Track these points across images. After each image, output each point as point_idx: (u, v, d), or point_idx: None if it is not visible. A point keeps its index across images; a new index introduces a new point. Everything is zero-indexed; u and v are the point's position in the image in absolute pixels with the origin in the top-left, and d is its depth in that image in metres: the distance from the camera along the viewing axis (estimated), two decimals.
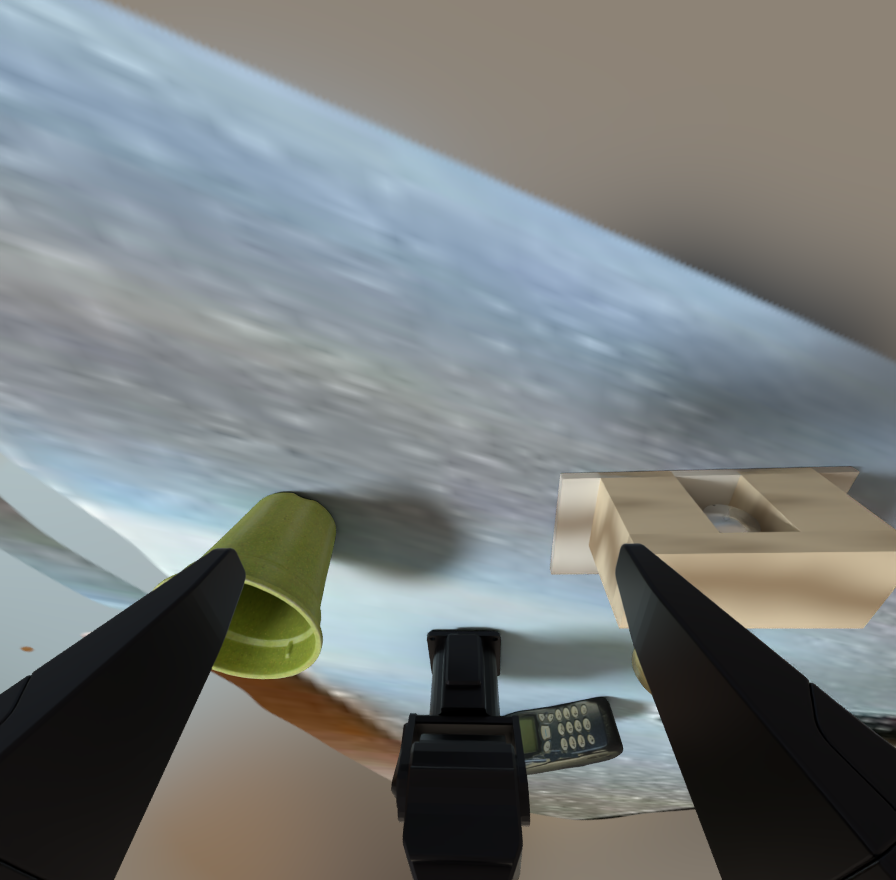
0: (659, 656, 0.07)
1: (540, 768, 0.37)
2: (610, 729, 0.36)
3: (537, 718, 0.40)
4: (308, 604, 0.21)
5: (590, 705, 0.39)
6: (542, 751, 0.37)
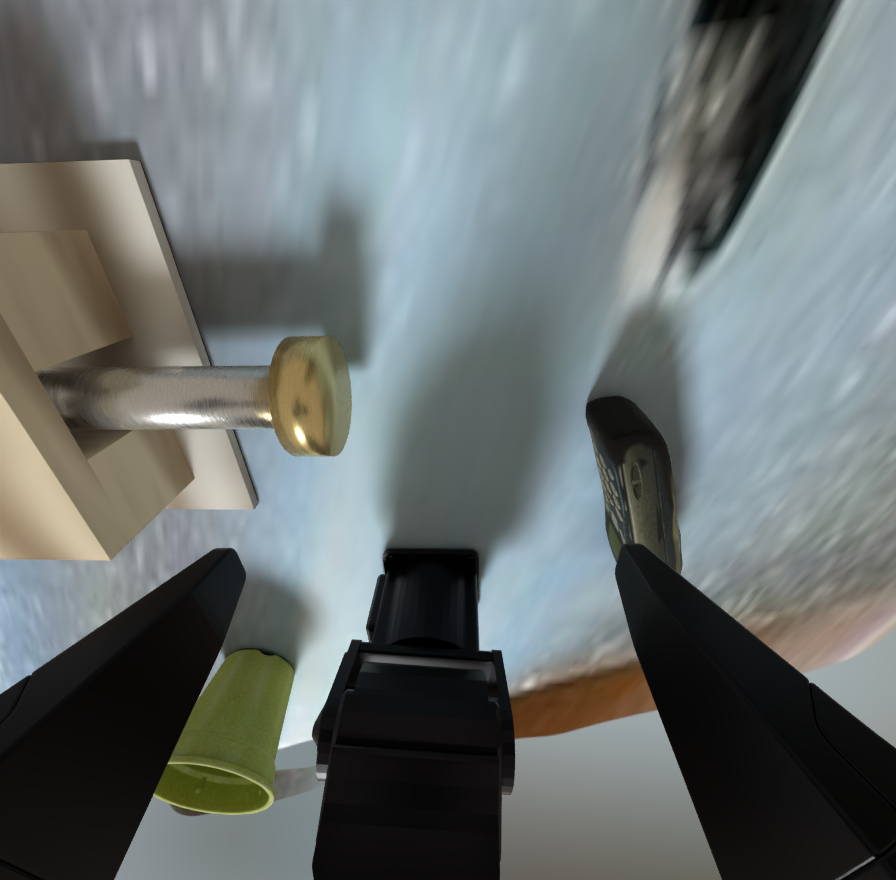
0: (659, 656, 0.07)
1: None
2: (600, 436, 0.18)
3: (608, 513, 0.23)
4: (178, 748, 0.26)
5: (591, 434, 0.21)
6: None
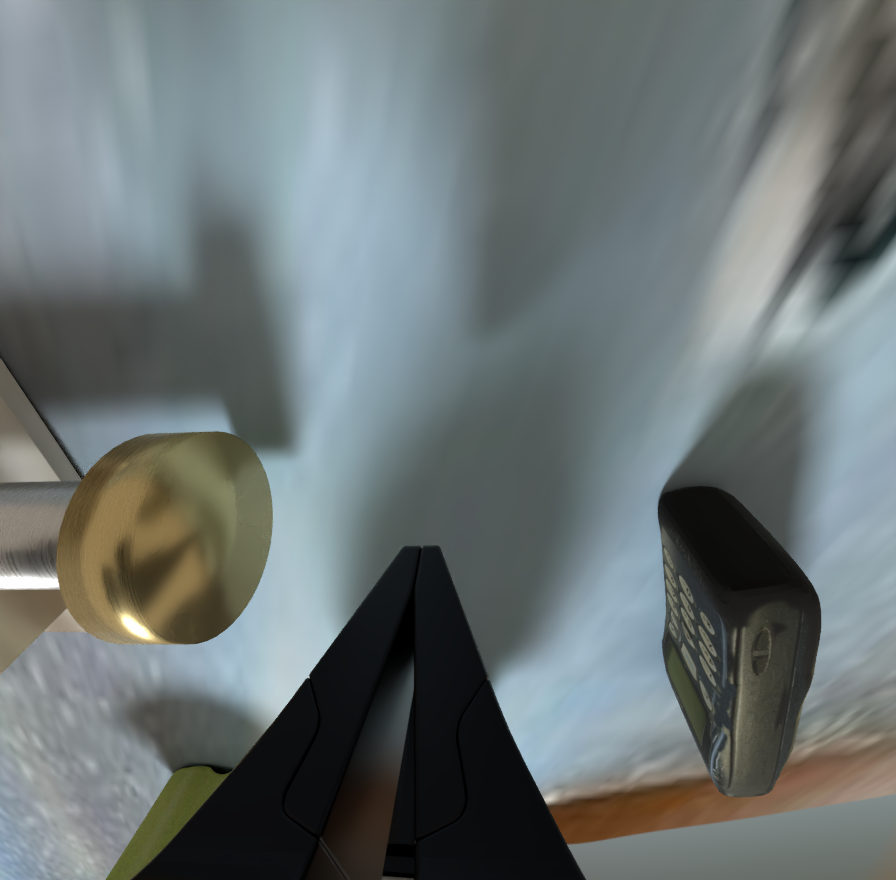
0: None
1: (748, 754, 0.13)
2: (696, 566, 0.11)
3: (672, 637, 0.16)
4: None
5: (664, 538, 0.14)
6: (709, 715, 0.14)
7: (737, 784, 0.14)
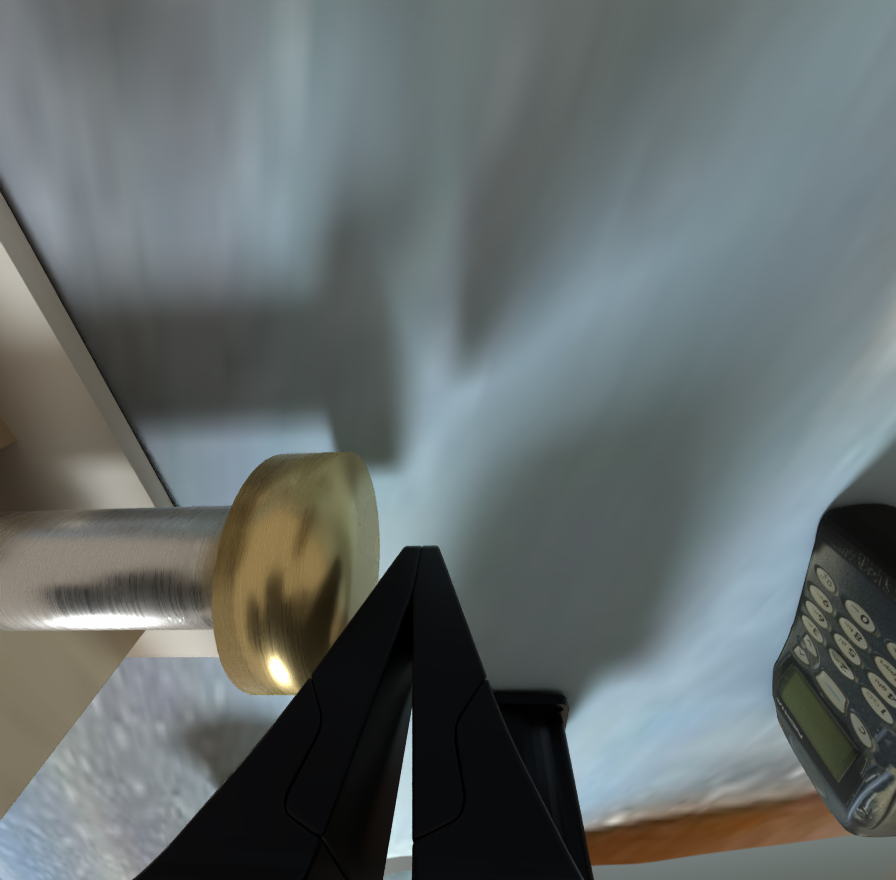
0: None
1: None
2: None
3: (799, 663, 0.15)
4: None
5: (824, 558, 0.13)
6: (865, 752, 0.13)
7: (885, 826, 0.13)
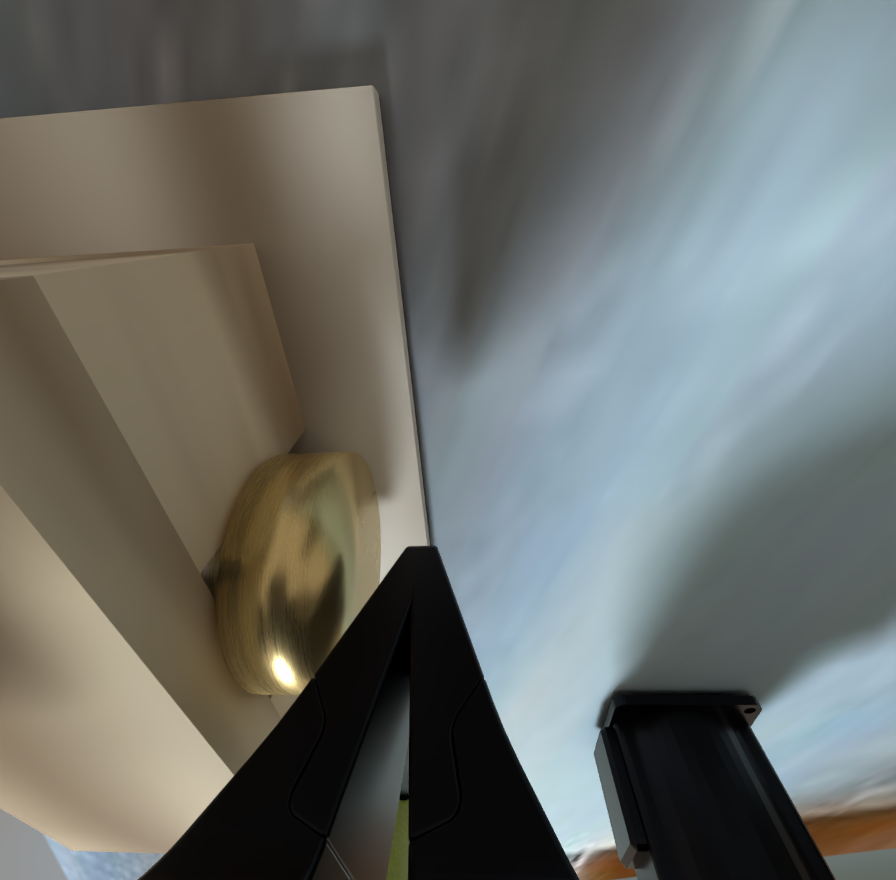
0: None
1: None
2: None
3: None
4: None
5: None
6: None
7: None
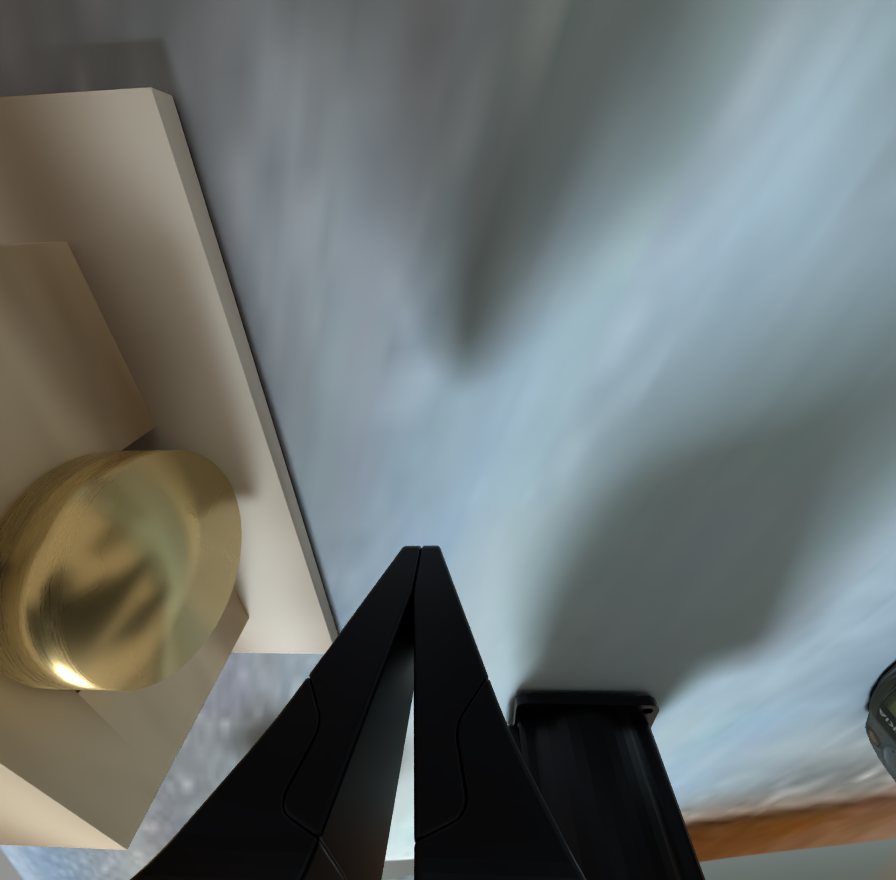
0: None
1: None
2: None
3: None
4: None
5: None
6: None
7: None
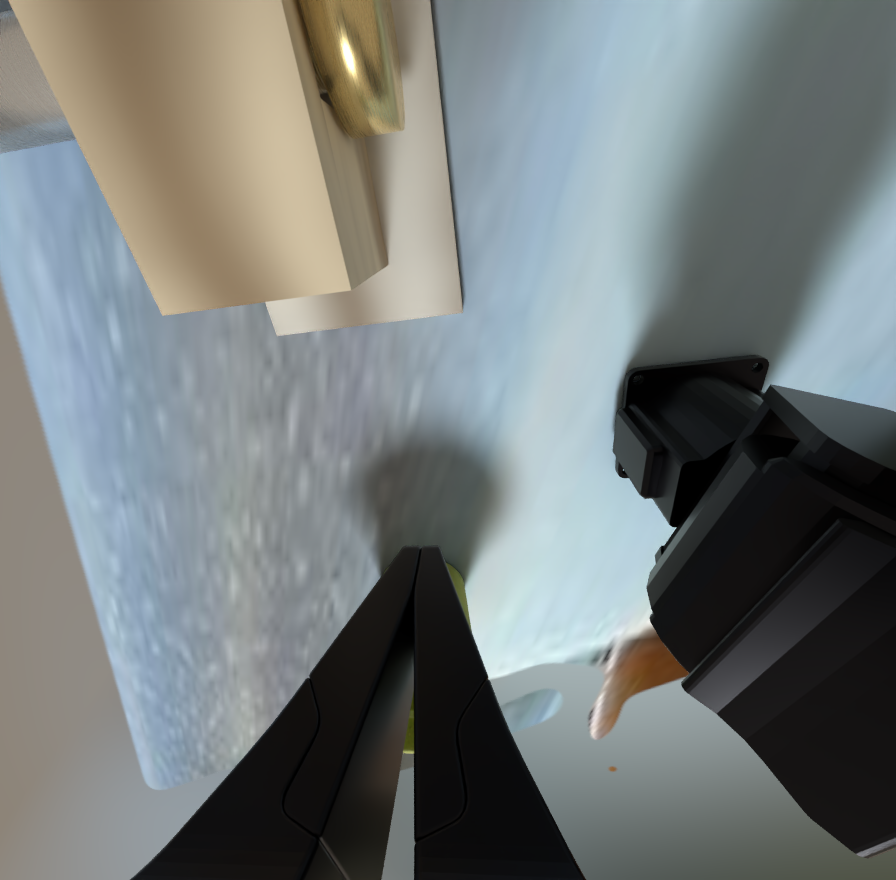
0: None
1: None
2: None
3: None
4: None
5: None
6: None
7: None
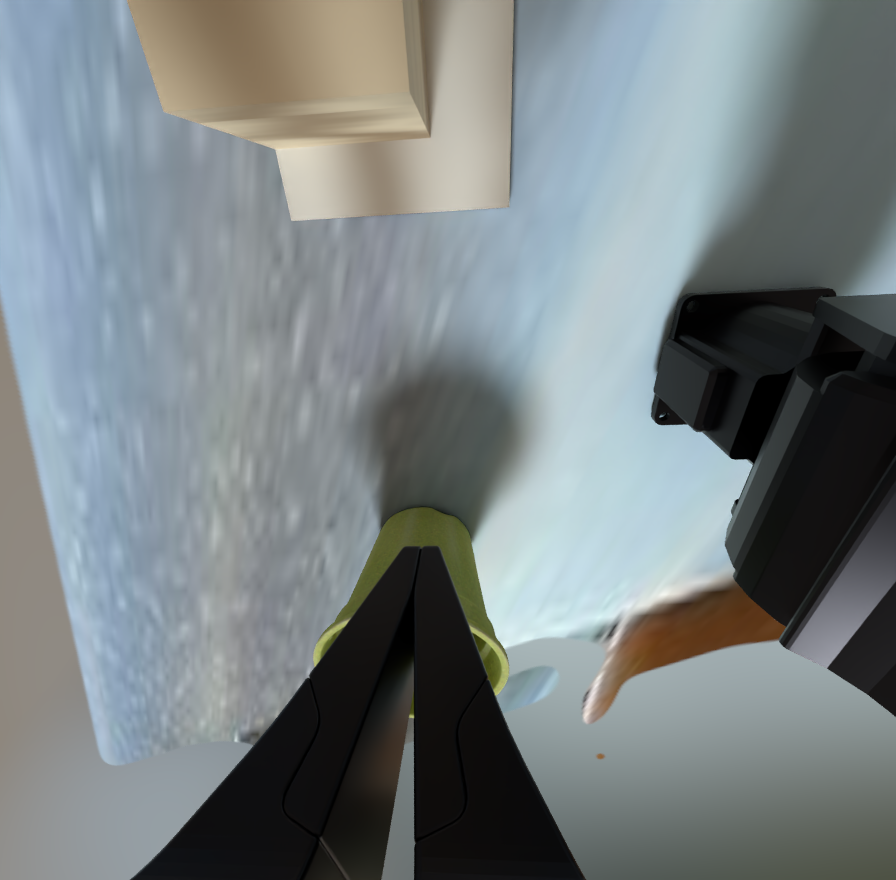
0: None
1: None
2: None
3: None
4: None
5: None
6: None
7: None
